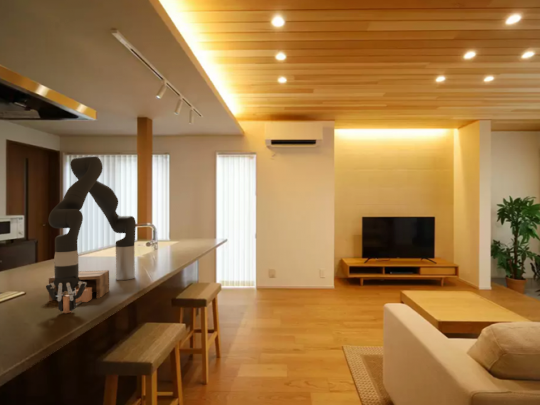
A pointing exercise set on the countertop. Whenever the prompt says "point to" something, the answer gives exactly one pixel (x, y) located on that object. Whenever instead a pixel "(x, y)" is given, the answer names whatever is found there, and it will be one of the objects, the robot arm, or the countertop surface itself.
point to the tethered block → (84, 298)
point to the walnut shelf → (91, 281)
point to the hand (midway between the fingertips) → (67, 310)
